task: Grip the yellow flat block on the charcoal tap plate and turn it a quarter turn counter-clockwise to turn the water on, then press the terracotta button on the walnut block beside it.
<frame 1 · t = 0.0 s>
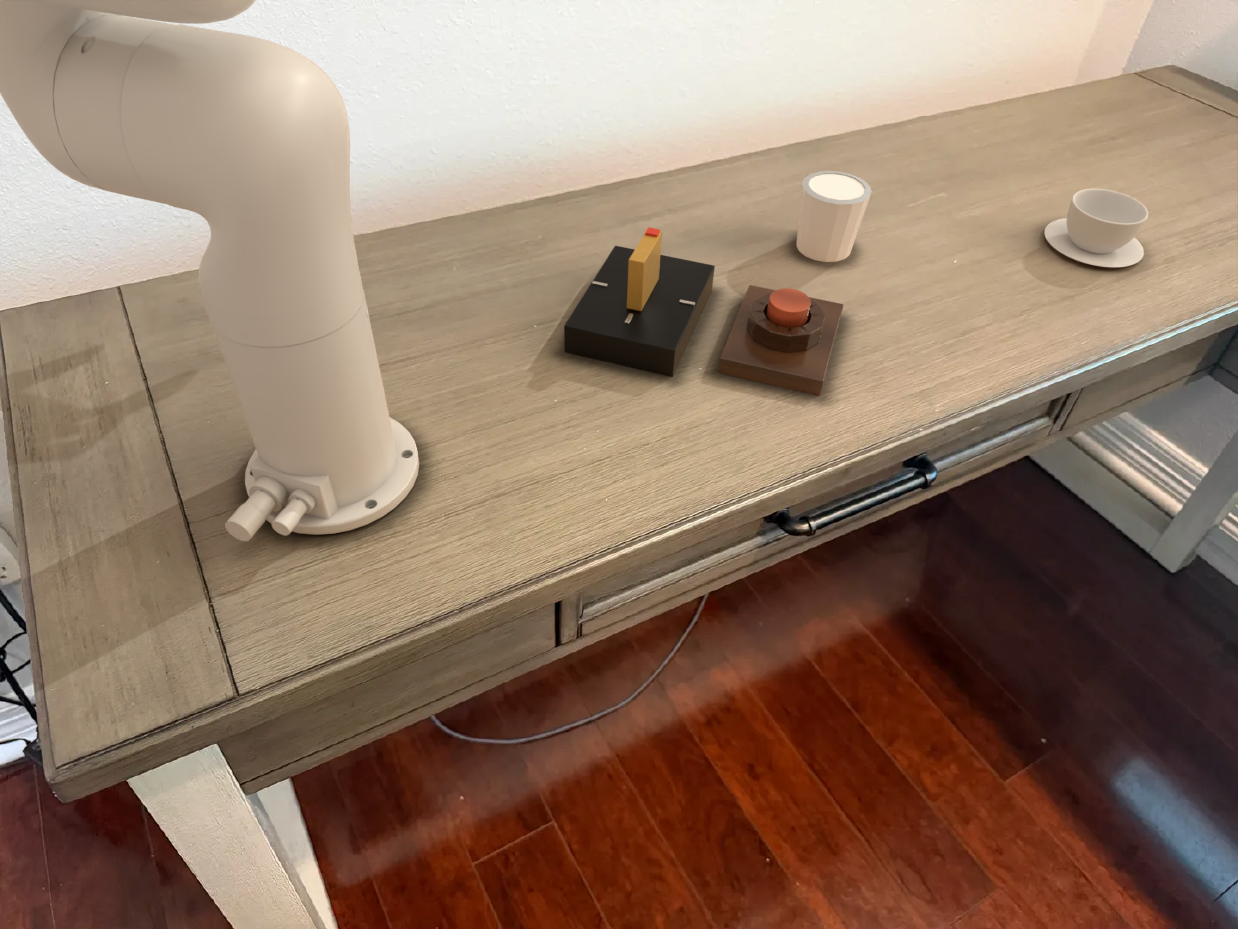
button block: (781, 345, 81), on the table
tap plate: (641, 321, 83), on the table
button: (788, 308, 78), point 4 cm above the table, slide at 0.2 cm
yellow flat block: (644, 268, 79), point 6 cm above the table, hinge at 0.0°
beige cup: (823, 249, 93), on the table
teacup: (1090, 247, 95), on the table
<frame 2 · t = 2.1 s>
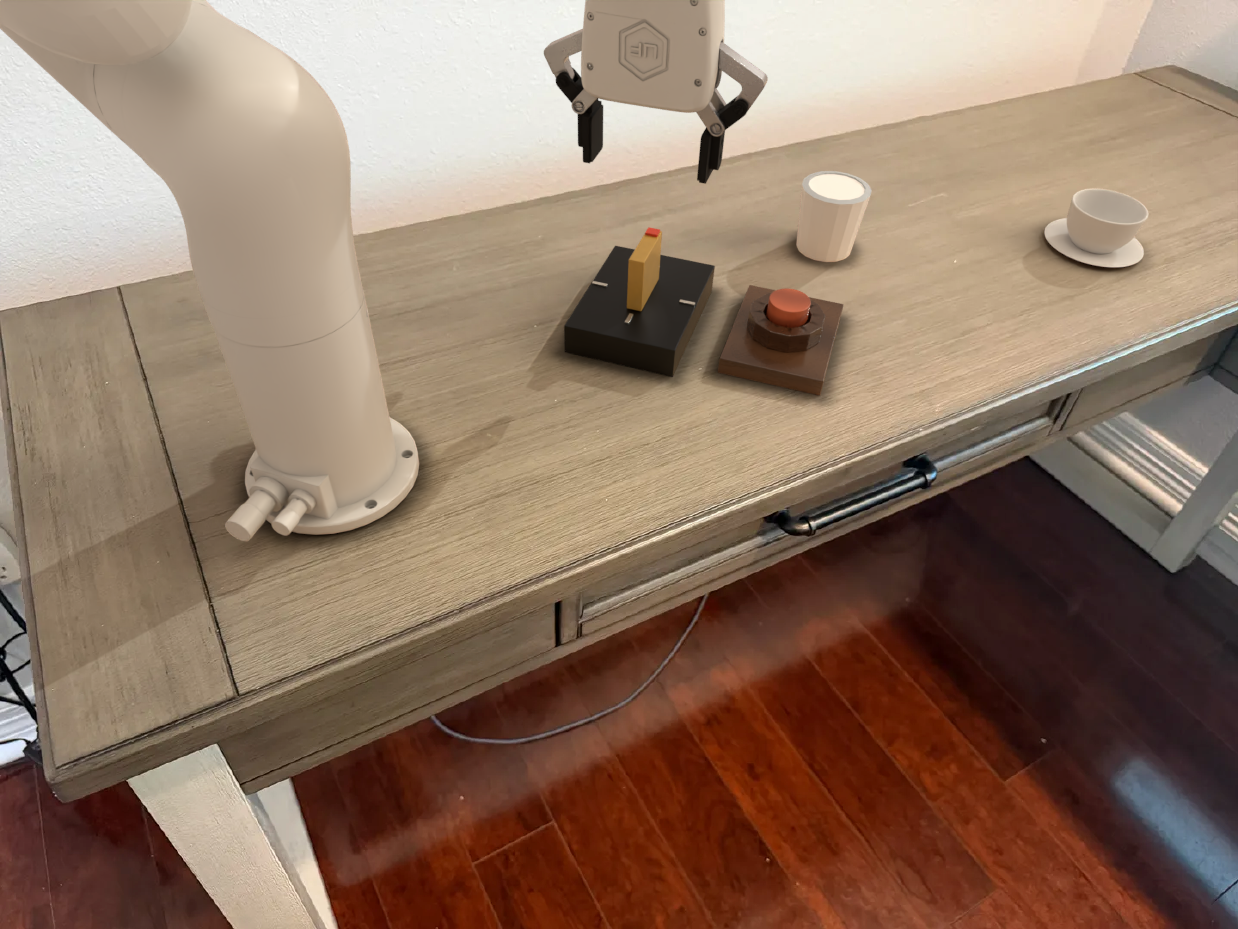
hand: (648, 165, 73), 15 cm above the table, tool pointing down, fingers open, 9 cm apart
nothing on the table moved.
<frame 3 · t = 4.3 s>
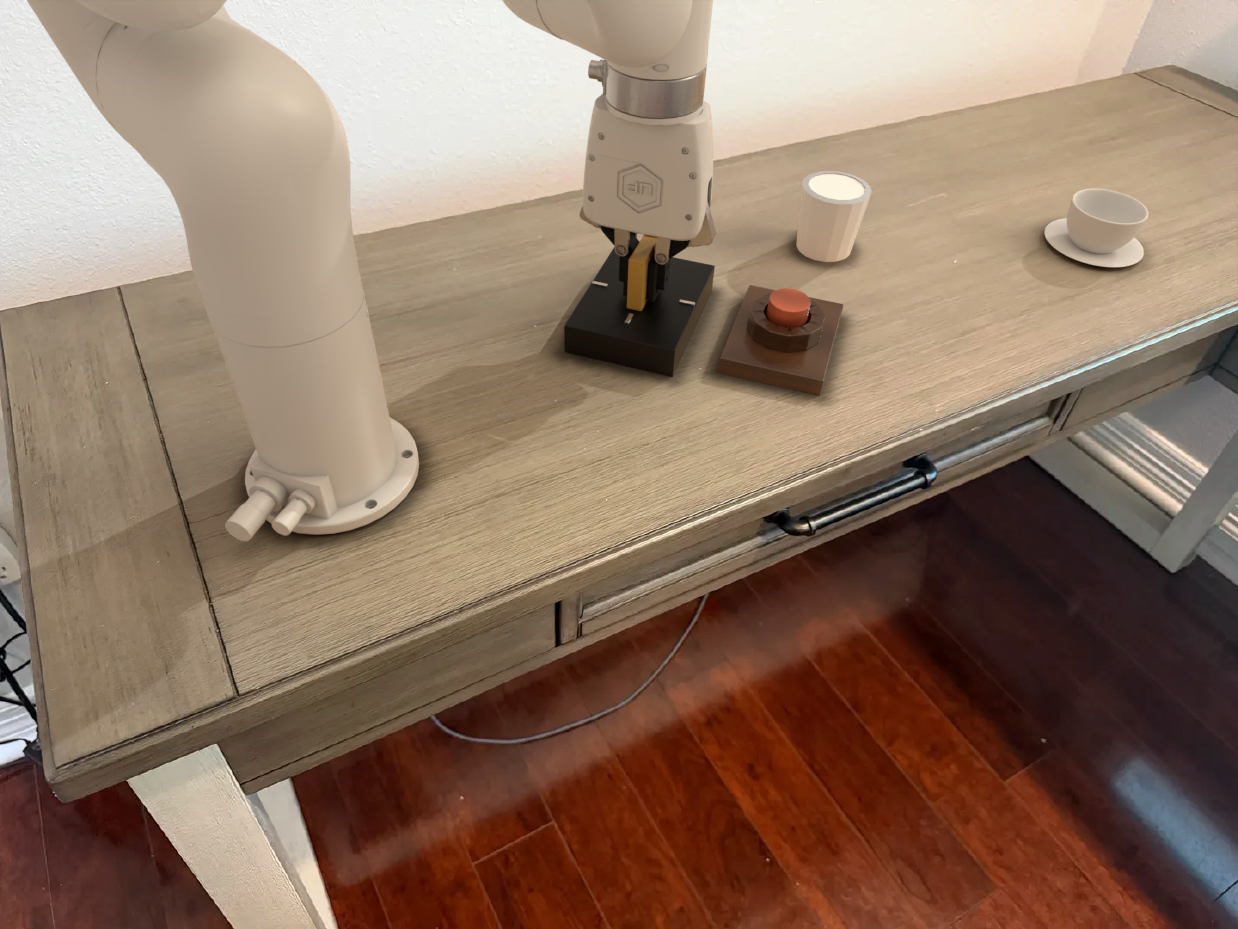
hand: (643, 290, 80), 3 cm above the table, tool pointing down, fingers closed
yellow flat block: (644, 268, 79), point 6 cm above the table, hinge at 0.0°, touching gripper
everything else where it was.
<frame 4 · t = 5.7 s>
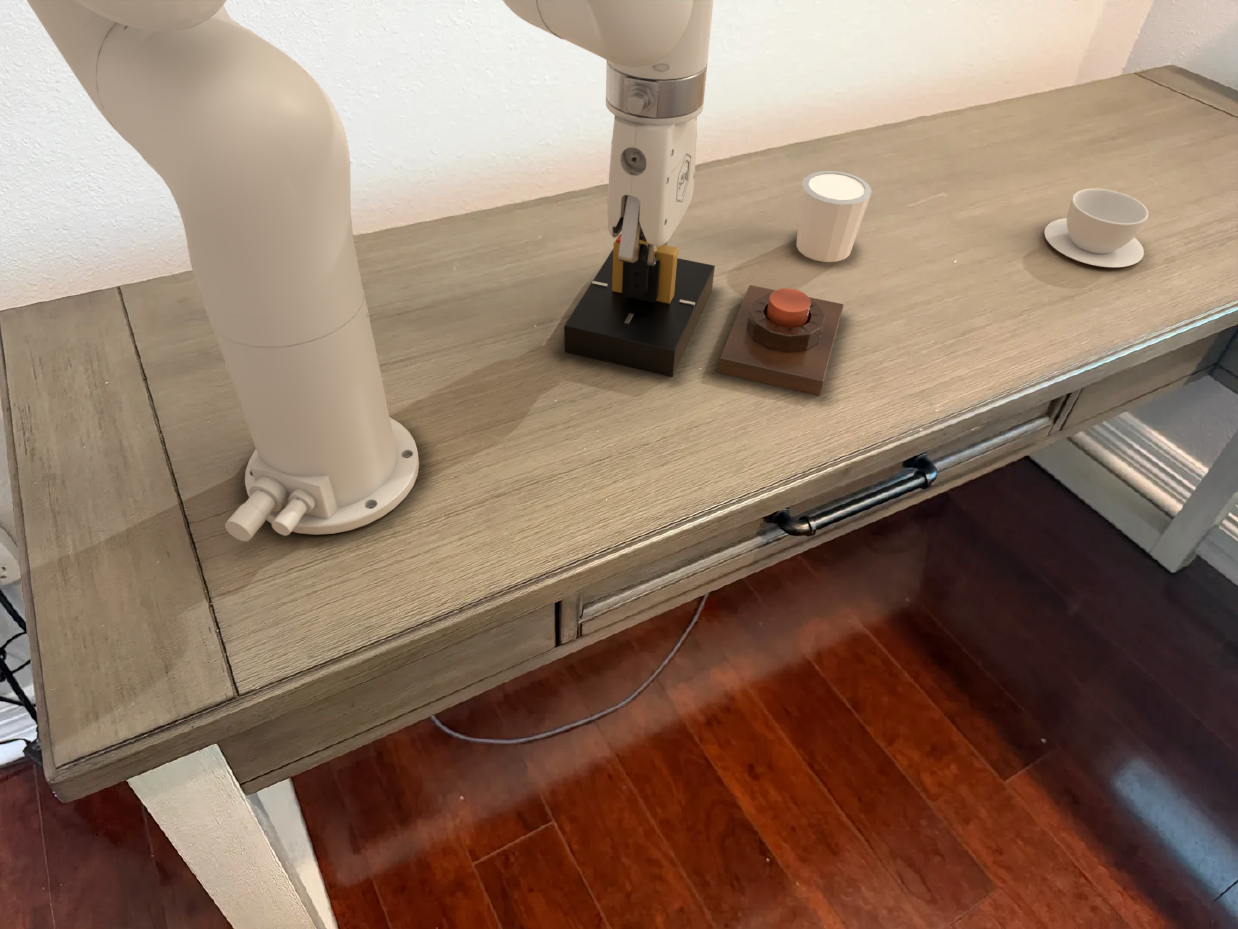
hand: (643, 289, 80), 3 cm above the table, tool pointing down, fingers closed
yellow flat block: (644, 268, 79), point 6 cm above the table, hinge at 89.1°, touching gripper
everything else where it was.
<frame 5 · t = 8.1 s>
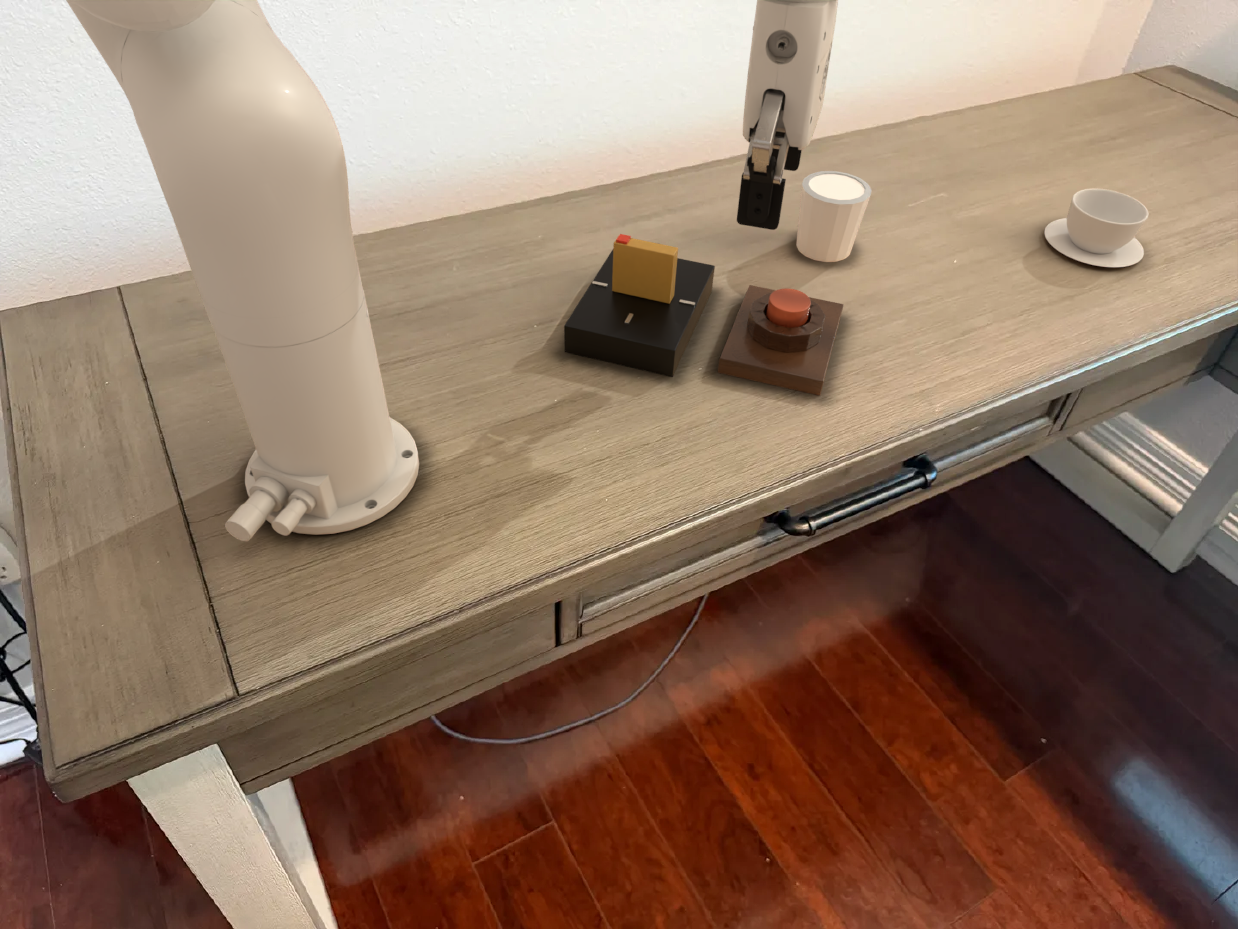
hand: (768, 194, 72), 14 cm above the table, tool pointing down, fingers open, 9 cm apart
yellow flat block: (644, 268, 79), point 6 cm above the table, hinge at 89.2°
everything else where it was.
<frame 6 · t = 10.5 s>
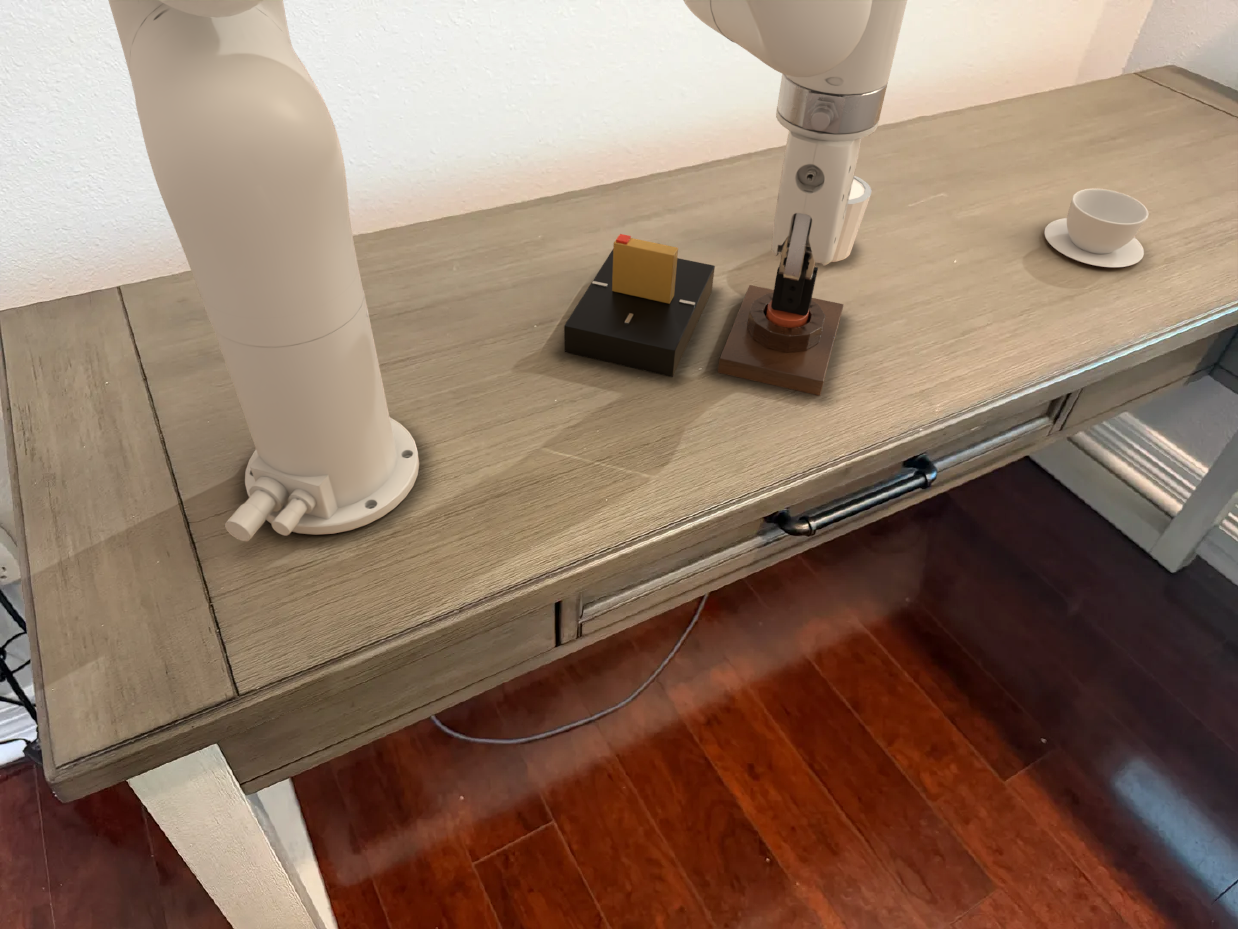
hand: (790, 307, 78), 4 cm above the table, tool pointing down, fingers closed
button: (786, 316, 79), point 3 cm above the table, slide at -0.7 cm, touching gripper
everything else where it was.
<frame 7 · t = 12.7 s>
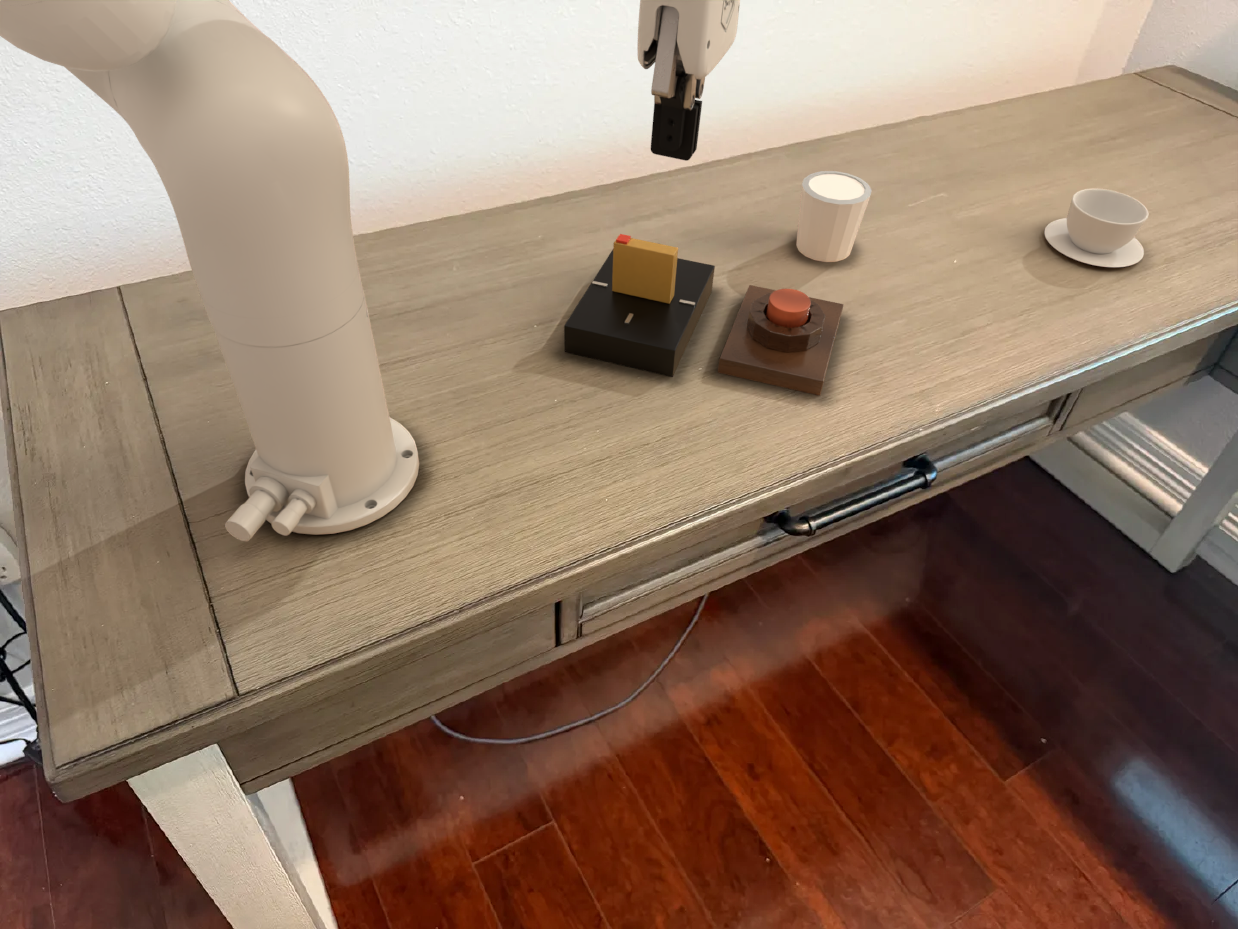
hand: (673, 152, 68), 18 cm above the table, tool pointing down, fingers closed
button: (788, 308, 78), point 4 cm above the table, slide at 0.1 cm
everything else where it was.
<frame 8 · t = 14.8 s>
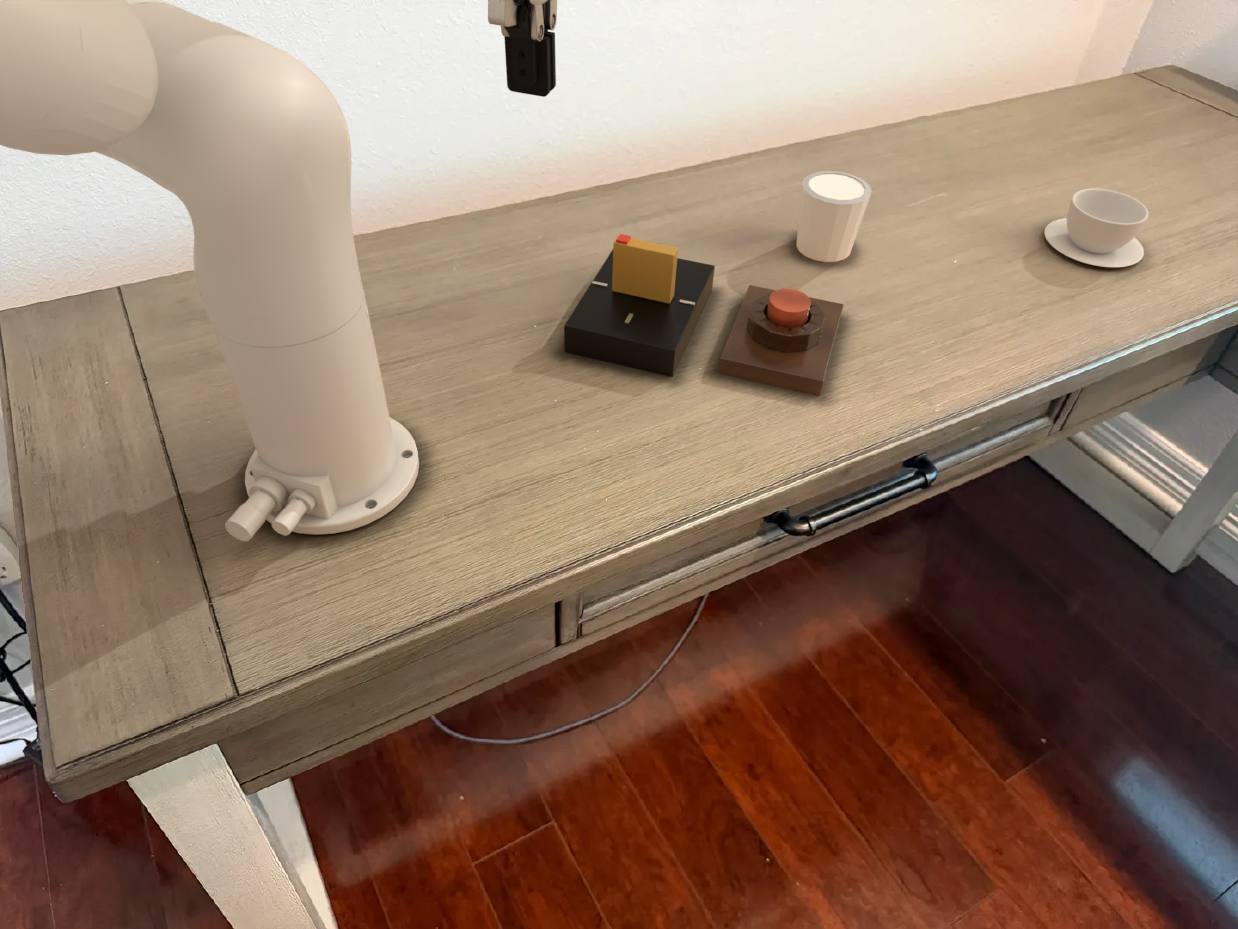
hand: (531, 89, 66), 22 cm above the table, tool pointing down, fingers closed
nothing on the table moved.
at the end: yellow flat block at +89° (first picture: +0°); button pushed in 1.1 cm at the most during the clip, back to where it started at the end; button slide at 0.1 cm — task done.
